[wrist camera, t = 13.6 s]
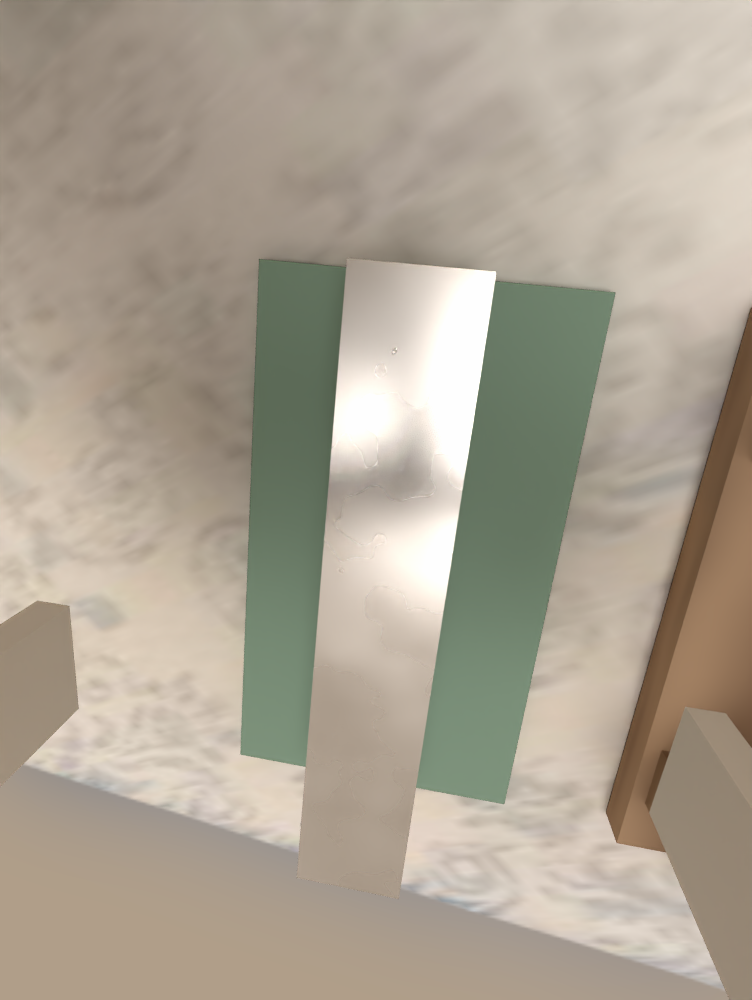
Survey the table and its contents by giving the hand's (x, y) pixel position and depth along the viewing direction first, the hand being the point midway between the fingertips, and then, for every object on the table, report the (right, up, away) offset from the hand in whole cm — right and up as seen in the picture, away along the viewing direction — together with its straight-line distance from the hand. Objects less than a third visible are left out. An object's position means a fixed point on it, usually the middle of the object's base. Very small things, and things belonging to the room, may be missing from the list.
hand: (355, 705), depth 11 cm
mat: (+1, +2, +10) cm, 10 cm away
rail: (+1, +2, +9) cm, 10 cm away
